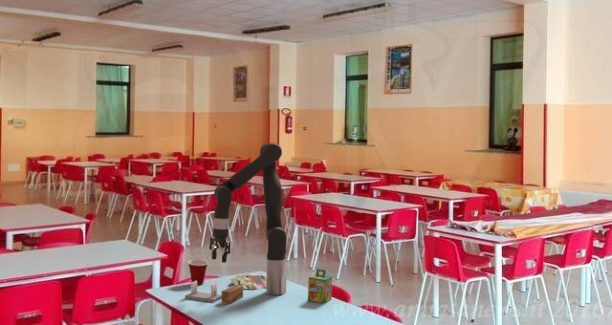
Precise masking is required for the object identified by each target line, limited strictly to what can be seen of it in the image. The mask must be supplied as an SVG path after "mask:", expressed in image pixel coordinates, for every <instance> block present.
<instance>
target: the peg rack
mask: <svg viewBox="0 0 612 325" xmlns="http://www.w3.org/2000/svg"><path fill="white" fill-rule="evenodd" d="M190 283H191V284H190V286H191V287H190V290H191V291H190V293H187V294H184V299H185V300H192V299H193V301H200V302H201V301H202V302H207V301H208V302H209V303H216V302H219V300H222V294H218V289H217V288H218V287H217V286H218V284H217V283H216V282H215V283H213V284H210V293H208V292H202V291H201V292H200V291H198V285H197V281H194V282H192V281H191V282H190ZM208 302H207V303H208Z"/></svg>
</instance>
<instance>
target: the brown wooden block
mask: <svg viewBox="0 0 612 325" xmlns="http://www.w3.org/2000/svg"><path fill="white" fill-rule="evenodd" d="M221 295H222V299H221V304H226V305H232V304H233V303H235V302H238V301H240V300H241V299H242V298H244V289H243V286H242V285H235V284H233V285H231V286H230V287H229V286H228V287H227V288H225V289H223V290H221Z"/></svg>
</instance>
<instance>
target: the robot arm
mask: <svg viewBox="0 0 612 325" xmlns="http://www.w3.org/2000/svg"><path fill="white" fill-rule="evenodd" d="M282 155H283V152H282V147H281V146H280V145H279V144H277V143H273V142H267V143H264V144H262V145H261V147H260V149H259V156H258V157H256V158H255V159H254V160H253V161H251V162H250V163H248V164H246V165H245V166H243V167H241V169H239V170H237V171H236V172H235V173H234V174H233V175H232V176H230V177H229V178H228V179H227V180H225V181H222V182H221V183H220V184H219V185H217V187H216V188H215V190H214V192H213V194H214V195H213V196H214V197H215V199H217V200H216V201H217V202H216V206H215V207H214V214H213V222H212V237H210V238H209V246H208V248H209V250H211V259H212V260H217V254H218V249H219V251H220V252H221V263H223V264H225V263H227V259H228V255H230V254H231V241H230V240H228V241H227V238H229V230H230V229H229V227H230V207H231V203H232V198H233V194H232V193H234V192H235V191H237V190H239V189H241V188H242V187H243V186H245V185H246V184H247V183H248V182H249V181H250V180H251V179H253V178H254V177H255V176H256V175H258V174H259V173H260V172H261V171H262V184H263V187H262V188H263V200H264V201H263V202H264V208H265V215H266V216H265V217H266V226H265V228H266V229H265V237H266V240H267V253H266V276H267V279H266V288H265V289H266V291H265V292H266V294H267V295H273V296H275V295H276V296H278V295H279V296H280V295H281V296H282V295H284V294H285V293H287V273H286V253H287V239H288V238H287V234H286V232H285V230H284V229H283V225H282V209H283V187H282V183H281V180H280V177H279V175H278V171H277V161H278V160H280V159H281V157H282Z"/></svg>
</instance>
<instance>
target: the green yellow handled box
mask: <svg viewBox="0 0 612 325" xmlns="http://www.w3.org/2000/svg"><path fill="white" fill-rule="evenodd" d="M320 273H322V274H320ZM326 274H327V271H326V269H320V268H317V269H316V273H315V274H313V275H311V276H309V277H308V287H307V288H308V289H307V301H308V302H312V301H313V302H314V303H320V304H326V303H327V302H329V301H330V300H332V297H333V296H332V295H333V294H332V291H333V276H331V275H326Z"/></svg>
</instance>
